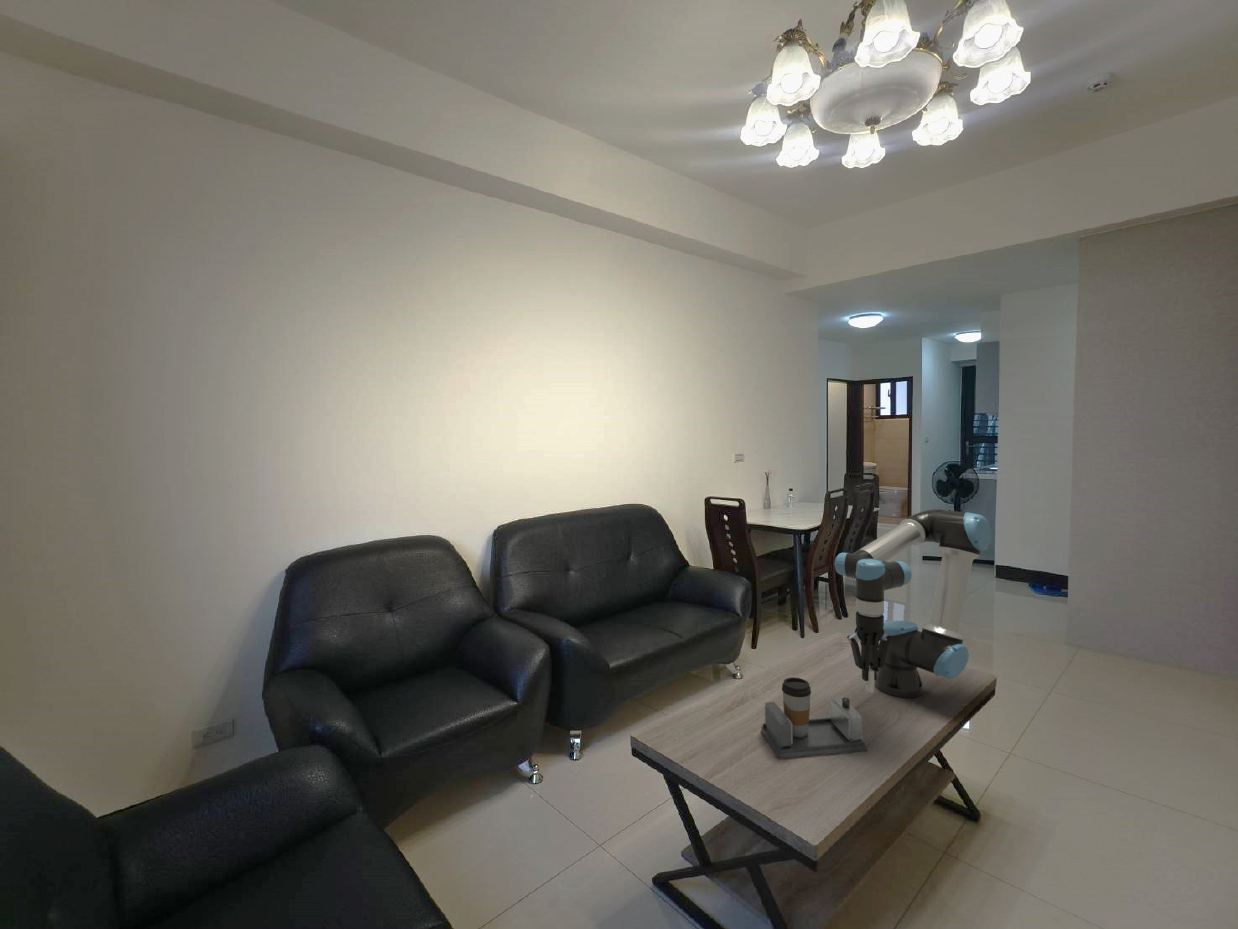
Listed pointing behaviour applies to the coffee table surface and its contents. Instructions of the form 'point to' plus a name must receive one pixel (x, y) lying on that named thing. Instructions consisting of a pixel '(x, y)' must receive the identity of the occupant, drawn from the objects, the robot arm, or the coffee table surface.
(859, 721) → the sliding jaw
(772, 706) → the base
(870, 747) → the coffee table surface
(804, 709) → the coffee cup
